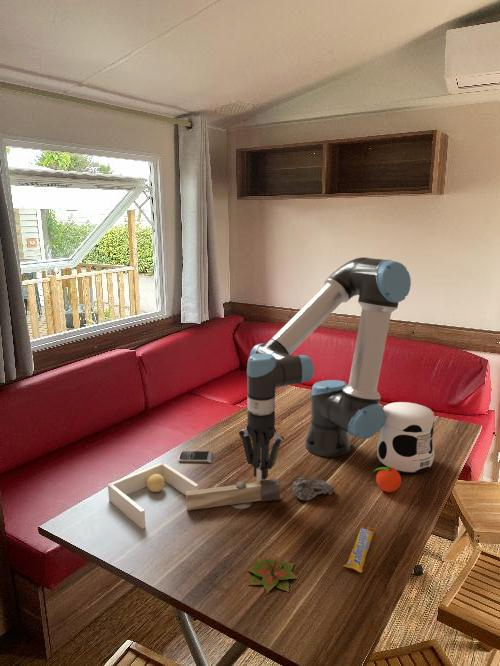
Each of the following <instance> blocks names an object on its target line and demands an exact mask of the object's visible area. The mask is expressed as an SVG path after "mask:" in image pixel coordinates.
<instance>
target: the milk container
mask: <svg viewBox="0 0 500 666" xmlns="http://www.w3.org/2000/svg"><path fill="white" fill-rule="evenodd" d="M382 408H383V409H384V411H385V421H384V423H383V426H382V427H381V429H380V434H379V437H378V441H377V443H376V455H377V458H378V460H379V462H380V463H381V464H382V465H384V467H392V468H394V469H395V470H397V471H398V473H402V474H418V473H422V472H425V471H427V470H429V469H430V468H431V466H432V465H433V463H434V459H435V447H434V442H433V441H434V439H433V437H434V432H435V431H434V428H435V414H434V411H432V409H430V408H429V407H427V406H425V405H422V404H418V403H415V402H414V403H413V402H408V401H407V402H406V401H397V402H396V401H395V402H391V403H387V404H386V405H384V406H383V407H382Z"/></svg>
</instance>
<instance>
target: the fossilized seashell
mask: <svg viewBox="0 0 500 666" xmlns="http://www.w3.org/2000/svg"><path fill="white" fill-rule="evenodd" d="M292 484H293V485H292V491H293V492H294V494H295V496H296V497H297V498H298V499H299V500H302V501H309V500H312V499H314V498H315V497H316V496H318V495H321V494H324V495H326V494H327V495H331V494H332V493H333V492H334V488H335V487H334V485H332V483H329V482H327V481H325V480H322V479H316V478H314V479H312V478H308V477H298V478H296V480H295V481H293V483H292Z"/></svg>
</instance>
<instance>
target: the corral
mask: <svg viewBox="0 0 500 666" xmlns="http://www.w3.org/2000/svg"><path fill="white" fill-rule="evenodd" d="M153 474H159V475H161V476H162V477H163V478H164V480H165V483H167V484H169V485H170V486H171V487H173V488H174V489H176V490H177V491H178V492H180V493H182V494H183V495H185V496H186V491H193V490H199V484H198V483H196V482H194V481H193V480H192V479H191V478H188V477H187V476H185V475H184V474H182V473H181V472H179V471H177V470H176V469H174V468H173V467H171V466H170V465H168V464H166V463H165V462H164V461H162V462H159V463H158V464H155V465H152V466H151V467H147V468H145V469H142V470H141V471H140V470H139V471H138V472H136V473H133V474H129V475H127V476H125V477H122V478H120V479H118V480H115V481H113V482H111V483H108V484H107V491H108V501H109V502H111V504H112V505H113V506H115V507H116V508H117V509H118V510H119V511H121V512H122V513H123V514H124V515H126V516H127V518H129V519H130V520H131V521H132V522H133V523H135V525H137V526H138V528H140V529H141V530H143V529H145V528H146V518H145V517H146V515H145V513H146V512H145V509H144V508H142V507H141V506H140V505H139V504H137V503H136V502H135V500H133V499H132V498H130V497H129V496H128V495H130V494H133V493H135V492H138V491H139V490H141V489H145V488H146V487H147V488H148V486H147V481H148V479H149V477H150V476H152V475H153Z"/></svg>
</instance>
